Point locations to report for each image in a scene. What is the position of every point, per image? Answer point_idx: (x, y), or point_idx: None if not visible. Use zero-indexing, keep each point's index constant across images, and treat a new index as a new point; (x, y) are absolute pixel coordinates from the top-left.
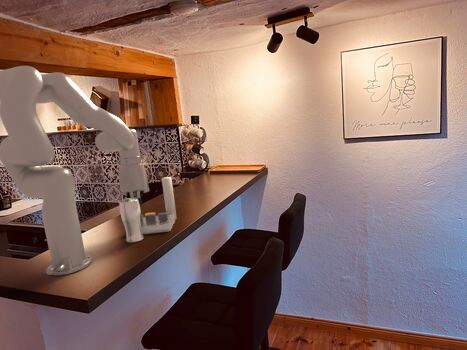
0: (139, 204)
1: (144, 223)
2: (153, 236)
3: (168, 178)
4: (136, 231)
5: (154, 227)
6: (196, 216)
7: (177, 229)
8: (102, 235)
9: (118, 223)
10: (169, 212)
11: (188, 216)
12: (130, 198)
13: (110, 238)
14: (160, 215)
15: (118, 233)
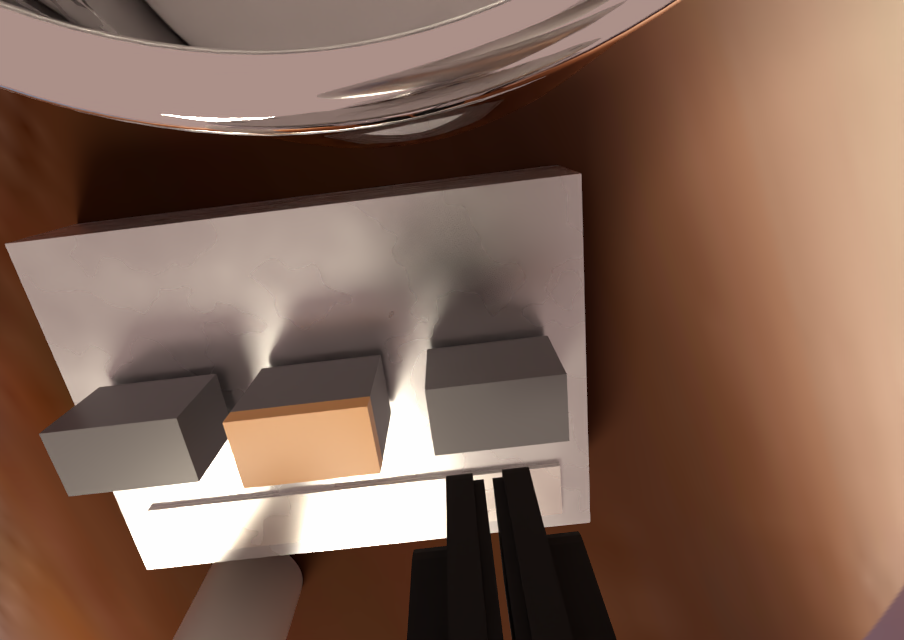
0: (441, 553)
1: (392, 324)
2: None
3: None
4: None
5: (216, 215)
6: (28, 606)
7: (19, 278)
8: (887, 222)
9: (789, 543)
10: (216, 616)
11: (116, 617)
12: (393, 36)
13: (760, 98)
14: (147, 413)
15: (706, 258)
